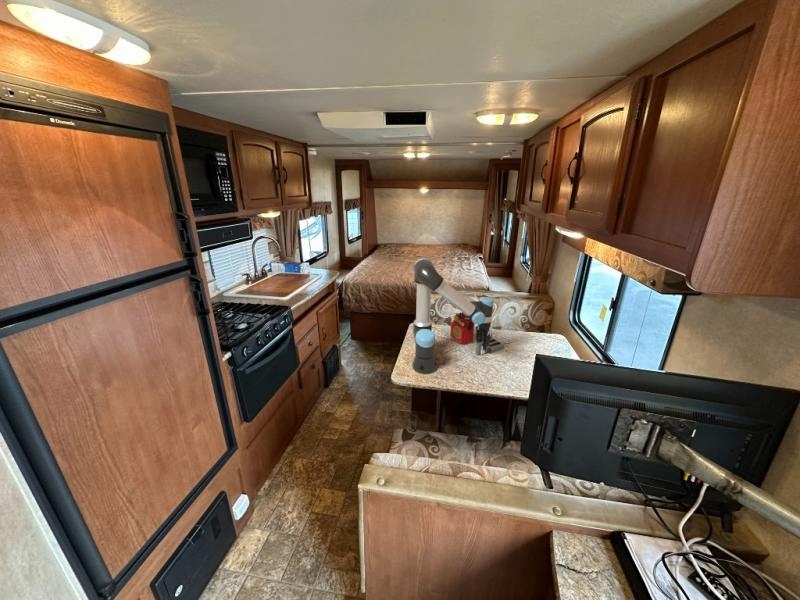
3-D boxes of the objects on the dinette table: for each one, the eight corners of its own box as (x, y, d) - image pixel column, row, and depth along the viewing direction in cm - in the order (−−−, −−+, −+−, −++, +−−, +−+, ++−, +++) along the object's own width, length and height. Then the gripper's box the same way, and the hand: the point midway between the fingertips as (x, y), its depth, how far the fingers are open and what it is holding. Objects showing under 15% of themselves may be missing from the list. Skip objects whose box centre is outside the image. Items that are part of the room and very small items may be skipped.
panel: (477, 355, 202) (478, 344, 199) (475, 353, 204) (476, 343, 201) (486, 352, 206) (488, 342, 203) (484, 350, 208) (485, 340, 205)
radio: (449, 336, 226) (450, 312, 219) (460, 333, 231) (462, 309, 223) (462, 346, 213) (465, 320, 206) (474, 343, 218) (476, 317, 210)
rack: (490, 352, 206) (491, 347, 204) (475, 343, 218) (476, 338, 216) (503, 348, 211) (504, 343, 209) (488, 339, 223) (489, 334, 222)
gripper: (498, 324, 191) (493, 356, 200) (481, 315, 204) (477, 346, 213) (489, 327, 188) (484, 359, 197) (472, 317, 201) (469, 348, 209)
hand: (481, 352), depth 205 cm, fingers closed on panel, 2 cm apart
